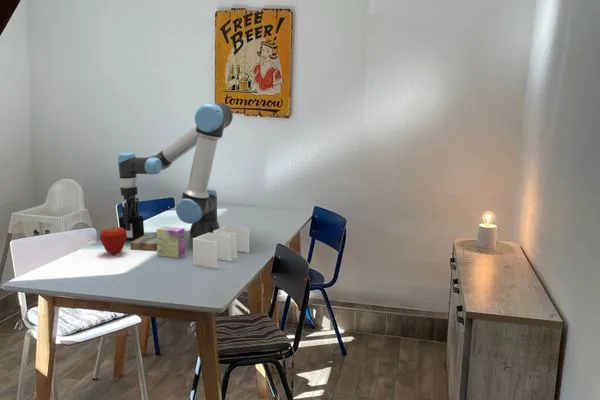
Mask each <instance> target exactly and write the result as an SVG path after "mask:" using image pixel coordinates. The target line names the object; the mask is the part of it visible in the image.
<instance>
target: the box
mask: <svg viewBox="0 0 600 400" xmlns="http://www.w3.org/2000/svg"><path fill="white" fill-rule="evenodd" d="M185 234H186V233H185V227H184V228H183V227H175V226H165V225H163V226H160V227H158V228H156V235H157V251H156V254H157V256H159V257H169V258H173V259H174V258H176V259H179V258H182V257H183V256H185V255H186V241H185V240H186V237H185Z"/></svg>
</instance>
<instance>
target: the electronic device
mask: <svg viewBox="0 0 600 400" xmlns="http://www.w3.org/2000/svg"><path fill="white" fill-rule="evenodd" d="M118 220H119V222H118V223H119V227H122V228H124V229H125V230H126V224H124V223H123V218H122V216H120V217H118ZM131 223H132V230H133V237H132V238H131V237H127V238H126V239H134V240H136V239H138V238H139V237H141V236H143V235H145V226H144V217H143V215H139V216H134V215H131ZM126 233H127V232H126Z"/></svg>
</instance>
